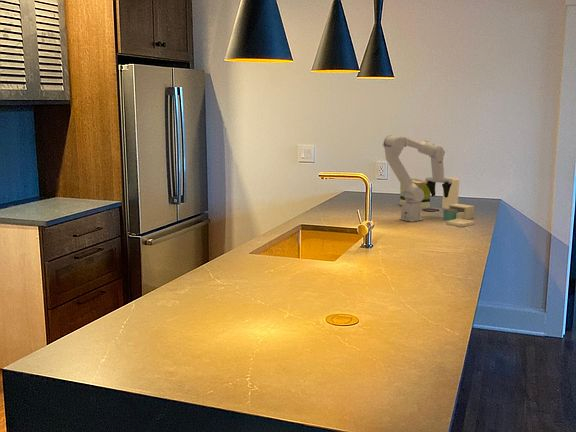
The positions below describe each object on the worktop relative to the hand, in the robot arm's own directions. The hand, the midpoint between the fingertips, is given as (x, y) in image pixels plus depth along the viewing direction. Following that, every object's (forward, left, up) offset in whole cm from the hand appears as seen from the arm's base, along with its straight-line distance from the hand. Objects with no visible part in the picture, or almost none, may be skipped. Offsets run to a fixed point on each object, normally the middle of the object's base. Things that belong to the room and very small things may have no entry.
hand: (439, 196), depth 327 cm
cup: (+29, +13, -11) cm, 33 cm away
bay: (+6, -7, -11) cm, 14 cm away
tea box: (+16, +27, -11) cm, 33 cm away
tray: (-7, -17, -11) cm, 21 cm away
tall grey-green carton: (-1, -7, -11) cm, 13 cm away
